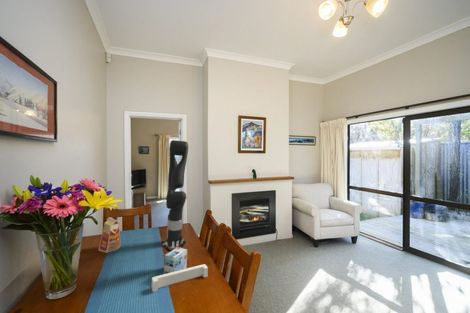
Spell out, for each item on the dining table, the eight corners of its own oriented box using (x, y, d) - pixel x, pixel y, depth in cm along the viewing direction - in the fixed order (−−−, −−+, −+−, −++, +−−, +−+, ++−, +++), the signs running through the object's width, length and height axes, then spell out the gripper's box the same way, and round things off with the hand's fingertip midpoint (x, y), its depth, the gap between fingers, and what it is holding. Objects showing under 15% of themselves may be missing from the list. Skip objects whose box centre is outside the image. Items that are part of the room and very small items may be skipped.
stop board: (151, 287, 90) (152, 277, 90) (204, 272, 103) (204, 263, 104) (152, 292, 87) (153, 282, 87) (207, 276, 100) (208, 267, 100)
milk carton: (98, 250, 124) (100, 218, 124) (112, 244, 132) (113, 214, 133) (108, 253, 121) (109, 220, 121) (121, 247, 129) (123, 216, 130)
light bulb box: (173, 280, 96) (174, 257, 96) (163, 276, 99) (164, 254, 99) (187, 269, 106) (187, 249, 106) (176, 266, 108) (177, 246, 109)
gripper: (184, 223, 115) (183, 253, 115) (161, 227, 108) (159, 258, 108) (188, 227, 109) (187, 259, 108) (164, 231, 102) (162, 265, 102)
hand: (173, 259), depth 108 cm, fingers closed
